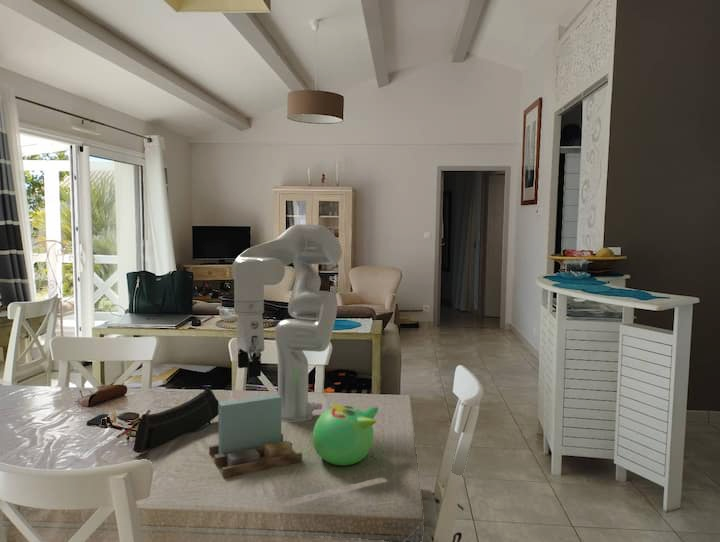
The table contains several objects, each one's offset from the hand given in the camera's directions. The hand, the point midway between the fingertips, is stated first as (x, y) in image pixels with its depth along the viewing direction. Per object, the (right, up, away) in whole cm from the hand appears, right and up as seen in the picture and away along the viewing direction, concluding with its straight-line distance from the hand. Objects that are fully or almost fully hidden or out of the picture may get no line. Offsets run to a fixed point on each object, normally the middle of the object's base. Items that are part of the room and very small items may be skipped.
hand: (249, 371), depth 138 cm
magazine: (-22, -21, +13) cm, 34 cm away
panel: (0, -21, +2) cm, 21 cm away
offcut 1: (0, -22, -7) cm, 23 cm away
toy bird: (+25, -23, -1) cm, 34 cm away
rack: (+2, -23, -2) cm, 23 cm away
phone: (-46, -21, +23) cm, 55 cm away
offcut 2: (+8, -22, -3) cm, 23 cm away
